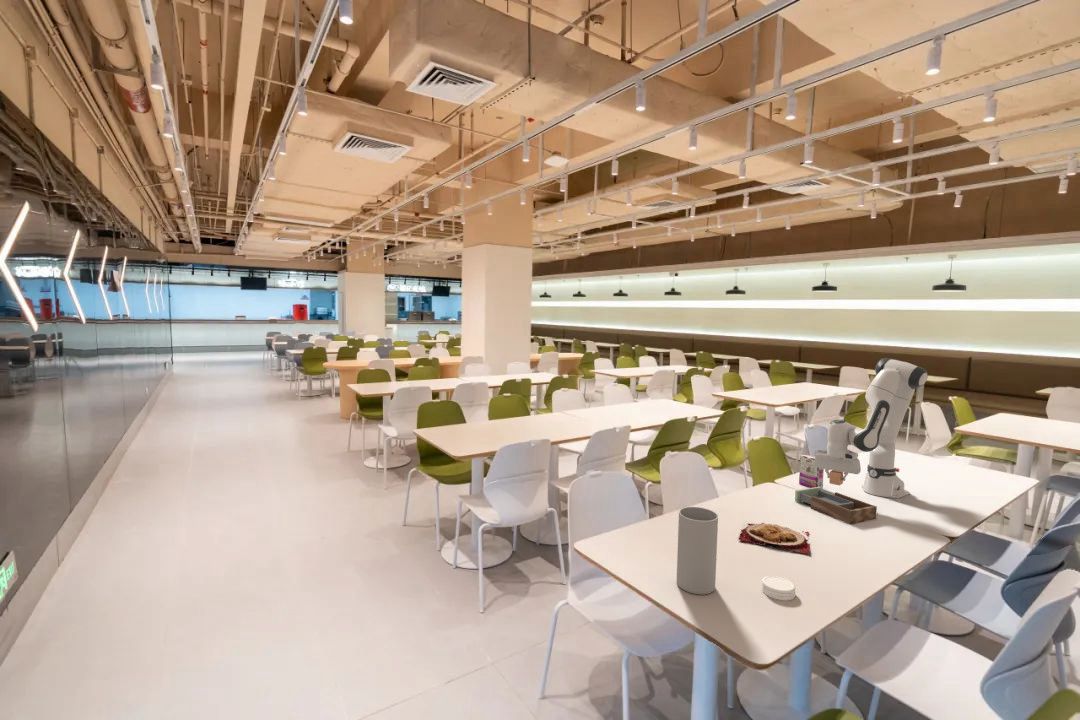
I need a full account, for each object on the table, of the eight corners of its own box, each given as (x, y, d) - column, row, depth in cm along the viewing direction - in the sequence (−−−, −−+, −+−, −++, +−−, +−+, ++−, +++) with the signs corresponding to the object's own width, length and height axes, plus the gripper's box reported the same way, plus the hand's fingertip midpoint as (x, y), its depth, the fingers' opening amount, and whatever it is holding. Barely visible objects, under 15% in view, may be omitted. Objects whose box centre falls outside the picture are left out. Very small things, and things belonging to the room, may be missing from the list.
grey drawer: (819, 497, 253) (819, 486, 253) (856, 511, 235) (856, 499, 235) (794, 501, 247) (795, 490, 247) (830, 515, 229) (831, 504, 229)
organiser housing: (835, 504, 245) (836, 492, 244) (875, 519, 226) (876, 506, 226) (810, 508, 239) (811, 496, 238) (850, 524, 220) (850, 511, 220)
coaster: (784, 584, 169) (785, 575, 169) (801, 601, 159) (801, 591, 159) (756, 585, 169) (756, 575, 169) (770, 601, 159) (771, 591, 159)
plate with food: (809, 558, 190) (810, 549, 190) (738, 541, 202) (738, 533, 202) (808, 535, 211) (809, 527, 211) (744, 522, 223) (744, 514, 223)
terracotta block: (842, 483, 250) (843, 471, 249) (839, 485, 247) (839, 473, 246) (832, 481, 253) (833, 469, 253) (829, 483, 250) (829, 471, 250)
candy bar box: (823, 489, 267) (824, 459, 266) (817, 490, 265) (818, 460, 264) (804, 482, 278) (806, 454, 276) (798, 483, 275) (799, 454, 274)
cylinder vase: (721, 585, 168) (724, 513, 166) (705, 600, 159) (708, 524, 157) (686, 572, 176) (688, 504, 174) (669, 586, 167) (672, 514, 165)
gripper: (812, 449, 254) (811, 476, 255) (858, 456, 240) (857, 484, 241) (816, 447, 259) (815, 473, 259) (861, 454, 244) (861, 481, 245)
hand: (836, 479), depth 250 cm, fingers closed on terracotta block, 5 cm apart
